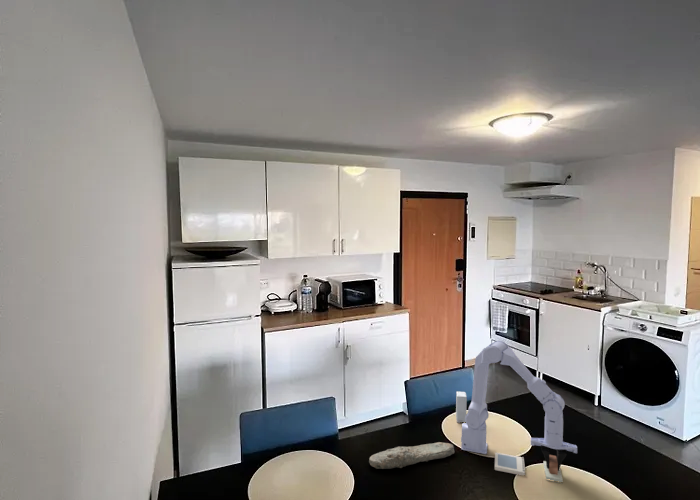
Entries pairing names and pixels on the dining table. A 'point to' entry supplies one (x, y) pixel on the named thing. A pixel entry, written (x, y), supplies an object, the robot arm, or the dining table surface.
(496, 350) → the robot arm
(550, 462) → the stub
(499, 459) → the ticket board
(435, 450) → the long grey stone
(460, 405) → the skincare box
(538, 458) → the dining table surface
